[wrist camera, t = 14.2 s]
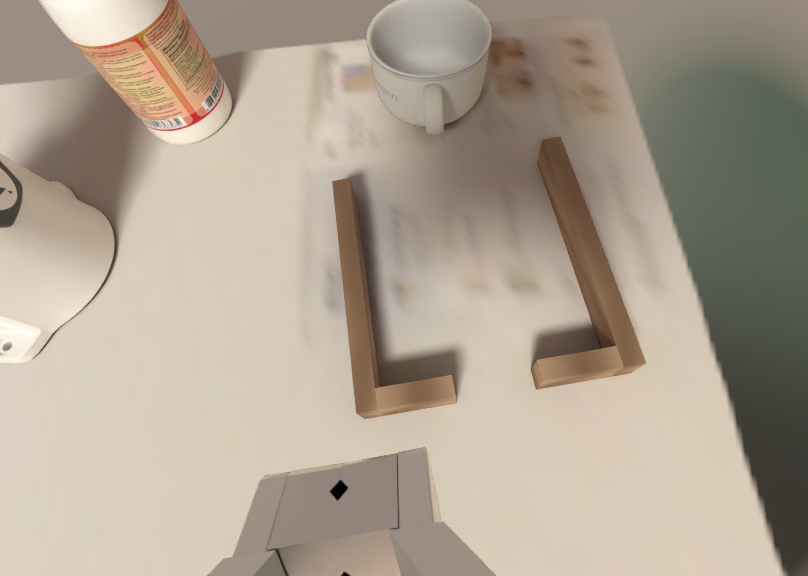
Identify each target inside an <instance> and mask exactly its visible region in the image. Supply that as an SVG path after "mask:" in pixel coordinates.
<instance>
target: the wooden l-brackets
mask: <svg viewBox="0 0 808 576" xmlns="http://www.w3.org/2000/svg"><path fill="white" fill-rule="evenodd" d="M538 166H539V168H540V171H541V174H542V177H543V180H544V183H545V186H546V189H547V192H548V195H549V198H550V201H551V204H552V207H553V210H554V212H555V215H556V218H557V221H558V224H559V227H560V230H561V233H562V236H563V239H564V242H565V245H566V248H567V251H568V254H569V256H570V259H571V262H572V265H573V268H574V271H575V274H576V277H577V280H578V283H579V286H580V289H581V292H582V295H583V298H584V300H585V303H586V306H587V309H588V312H589V315H590V318H591V321H592V324H593V327H594V330H595V333H596V336H597V339H598V342H599V344H600V347H601V349H596V350H590V351H584V352H578V353H573V354H567V355H561V356H556V357H550V358H544V359H539V360H537V361H536V362H535V364H534V365H533V367H532V369H531V372H532V376H533V379H534V383H535V387H536V389H541V388H547V387H553V386H559V385H564V384H570V383H576V382H582V381H588V380H593V379H599V378H605V377H611V376H617V375H622V374H628V373H632V372H633V371H635V370H636V369H638V368H639V367H641V366H643V365H644V364H646V361H645V359H644V356H643V353H642V351H641V348H640V345H639V343H638V340H637V337H636V335H635V332H634V330H633V327H632V324H631V322H630V319H629V316H628V314H627V311H626V308H625V306H624V303H623V300H622V298H621V295H620V293H619V290H618V287H617V285H616V282H615V279H614V277H613V274H612V271H611V269H610V266H609V263H608V261H607V258H606V256H605V253H604V250H603V248H602V245H601V242H600V240H599V237H598V234H597V232H596V229H595V227H594V224H593V221H592V219H591V216H590V213H589V211H588V208H587V205H586V203H585V200H584V197H583V195H582V192H581V190H580V187H579V184H578V182H577V179H576V176H575V174H574V171H573V168H572V166H571V163H570V160H569V158H568V155H567V153H566V150H565V147H564V145H563V142H562V139H561V137H556V138H551V139H546V140H543V142H542V146H541V150H540V155H539V159H538ZM332 183H333V192H334V202H335V212H336V221H337V231H338V240H339V250H340V260H341V269H342V279H343V289H344V298H345V308H346V318H347V327H348V337H349V346H350V356H351V366H352V375H353V385H354V395H355V404H356V413H357V414H358V415H360V416H361V417H363V418H364V419H367V418H373V417H379V416H384V415H390V414H396V413H402V412H408V411H413V410H419V409H425V408H431V407H437V406H442V405H448V404H454V403H456V393H455V388H454V383H453V378H452V375H447V376H441V377H436V378H430V379H424V380H419V381H413V382H407V383H402V384H396V385H390V386H384V387H381V386H380V379H379V371H378V363H377V355H376V347H375V340H374V332H373V324H372V316H371V308H370V301H369V293H368V285H367V277H366V269H365V262H364V254H363V246H362V238H361V231H360V223H359V215H358V207H357V199H356V196H355V193H354V190H353V187H352V185H351V182H350V179H349V178H347V179H342V180H337V181H332Z"/></svg>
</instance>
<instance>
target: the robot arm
mask: <svg viewBox="0 0 808 576" xmlns="http://www.w3.org/2000/svg"><path fill="white" fill-rule="evenodd" d="M113 255H114V234H113V230H112V227H111V225H110V223H109V221H108V220H107V218H106V217H105V216H104V215H103V214H102V213H101V212H100V211H99V210H97V209H96V208H94V207H92V206H90V205H88V204H85V203H83V202H81V201H79V200H77V199H76V197H75V195H74V194H73V192H72V191H71V190H70V189H69V188H68V187H67V186H65V185H63V184H61V183H60V182H58V181H51V182H48V181H46V180H45V179H43V178H41V177H40V176H38V175H36V174H35V173H33V172H31V171H30V170H28V169H26V168H25V167H23V166H21V165H20V164H18V163H16V162H14V161H13V160H11V159H9V158H8V157H6V156H4V155H3V154H1V153H0V363H24V362H27V361H29V360H31V359H32V358H33V357H35V356H36V355H37V353H38V352H39V351H40V350H41V349H42V347H43V346H44V345H45V343H46V342H47V341H48V339H49V338H50V337H51V335H52V334H53V333H54V332H55V331H56V330H57V329H58V328H59V327H60V326H61V325H63V324H64V323H65V322H67V321H68V320H69V319H71V318H72V317H73V316H75V315H76V314H77V313H78V312H79V311H80V310H81V309H82V308H83V307H84V306H85V305H86V304H87V303H88V302H89V301H90V300H91V299H92V298H93V296H94V295H95V294H96V292H97V291H98V290H99V288H100V287H101V285H102V283H103V282H104V280H105V278H106V276H107V274H108V271H109V269H110V266H111V263H112V259H113ZM207 576H496V575H495V574H494V573H493V572H492V571H491V570H490V569H489V568H488V567H487V566H486V565H485V564H484V563H483V562H482V561H481V560H480V559H479V557H478V556H477V555H476V554H475V553H474V552H473V551H472V550H471V549H470V548H469V547H468V546H467V545H466V544H465V543H464V542H463V541H462V540H461V539H460V538H459V537H458V536H457V535H456V534H455V533H454V532H453V531H452V530H451V529H450V528H449V527H448V526H447V525H446V524H445V523H444V522H442V519H441V513H440V508H439V503H438V497H437V493H436V488H435V483H434V479H433V474H432V469H431V465H430V460H429V455H428V452H427V449H426V448H425V447H423V448H418V449H413V450H408V451H403V452H399V453H396V454H390V455H385V456H380V457H374V458H369V459H363V460H358V461H353V462H347V463H341V464H334V465H328V466H321V467H314V468H308V469H301V470H295V471H292V472H285V473H279V474H272V475H266V476H264V477H263V478H262V479H261V480H260V482H259V484H258V487H257V489H256V492H255V495H254V498H253V501H252V503H251V506H250V509H249V512H248V515H247V517H246V520H245V523H244V526H243V529H242V531H241V534H240V537H239V540H238V543H237V545H236V548H235V551H234V554H233V557H231V558H226V559H223V560H222V561H221V562H220V563H219V564H218V565H217V566H216V567H215V568H214V569H213V570H212V571H211V572H210V573H209V574H208V575H207Z"/></svg>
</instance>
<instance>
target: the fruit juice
mask: <svg viewBox="0 0 808 576" xmlns="http://www.w3.org/2000/svg"><path fill="white" fill-rule="evenodd" d="M39 2H40V3H41V5H42V6H43V8H44V9H45V11H46V12H47V13H48V15H49V16H50V17H51V18H52V20H53V21H54V22H55V24H56V25H57V26H58V27H59V28H60V30H61V31H62V32H63V33H64V34H65V35H66V36H67V38H68V39H69V40H70V41H71V42H72V43H73V44H74V45H75V46H76V47H77V49H78V50H79V51H80V52H81V53H82V54H83V55H84V57H85V58H86V59H87V60H88V61H89V62H90V63H91V64H92V66H93V67H94V68H95V69H96V70H97V71H98V73H99V74H100V75H101V76H102V77H103V78H104V79H105V81H106V82H107V83H108V84H109V85H110V86H111V87H112V88H113V90H114V91H115V92H116V93H117V94H118V95H119V96H120V98H121V99H122V100H123V101H124V102H125V103H126V104H127V106H128V107H129V108H130V109H131V110H132V111H133V112H134V113H135V115H136V116H137V117H138V118H139V119H140V120H141V121H142V123H143V124H144V125H145V126H146V127H147V128H148V129H149V131H150V132H152V133H153V134H154V135H155V136H156V137H157V138H159V139H161V140H162V141H164V142H167V143H170V144H174V145H187V144H192V143H196V142H199V141H201V140H204V139H206V138H208V137H209V136H211V135H212V134H214V133H215V132H216V131H218V130H219V129H220V128H221V127H222V126H223V124H224V123H225V122H226V120H227V119H228V117H229V115H230V112H231V108H232V99H231V94H230V91H229V89H228V87H227V85H226V83H225V81H224V79H223V78H222V76H221V74H220V73H219V71H218V69H217V67H216V66H215V64H214V62H213V61H212V59H211V57H210V56H209V54H208V52H207V50H206V49H205V47H204V45H203V44H202V42H201V40H200V38H199V37H198V35H197V33H196V32H195V30H194V28H193V27H192V25H191V23H190V21H189V20H188V18H187V16H186V15H185V13H184V11H183V9H182V8H181V6H180V5H179V3H178V1H177V0H39Z"/></svg>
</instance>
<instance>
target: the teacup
mask: <svg viewBox="0 0 808 576" xmlns="http://www.w3.org/2000/svg"><path fill="white" fill-rule="evenodd" d="M366 41H367V47H368V50H369V53H370V58H371V65H372V71H373V76H374V81H375V86H376V89H377V93H378V95H379V98H380V100H381V102H382V103H383V105H384V106H385V108H386V109H387V110H388V111H389V112H390V113H391V114H392V115H394V116H395V117H396V118H398V119H400V120H401V121H403V122H406V123H408V124H412V125H416V126H425V127H426V132H427V133H428V134H430V135H436V134H440V133H442V132H443V131H444V124H447V123H450V122H453V121H455V120H457V119H459V118H461V117H462V116H463V115H465V114H466V113H467V112H468V111H469V110H470V109H471V108H472V107H473V106H474V104H475V103H476V101H477V100H478V98H479V96H480V93H481V91H482V88H483V84H484V79H485V74H486V68H487V62H488V55H489V48H490V45H491V42H492V26H491V23H490V20H489V19H488V17H487V15H486V14H485V13H484V12H483V11H482V10H481V9H480V8H479V7H478V6H476V5H475V4H473V3H472V2H470V1H468V0H397V1H395V2H393V3H391V4H389V5H388V6H386V7H385V8H384V9H382V10H381V11H380V12H379V13H378V14H377V15H376V16H375V17H374V19H373V20H372V21H371V23H370V25H369V27H368V32H367V36H366Z"/></svg>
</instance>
